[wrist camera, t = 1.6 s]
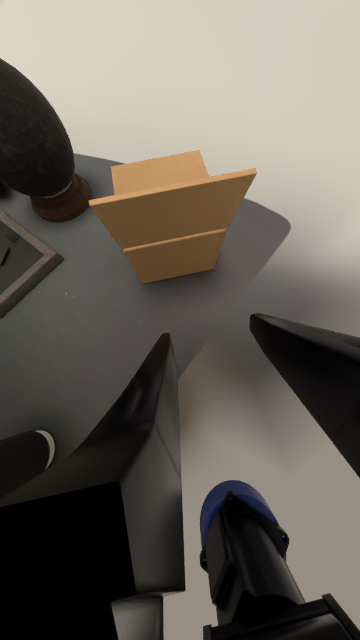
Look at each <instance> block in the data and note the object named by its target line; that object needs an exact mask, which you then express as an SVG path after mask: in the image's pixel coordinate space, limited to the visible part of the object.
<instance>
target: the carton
mask: <svg viewBox="0 0 360 640" xmlns="http://www.w3.org/2000/svg"><path fill="white" fill-rule="evenodd" d="M111 170H112V178H113V186H114V193H115V195H119V194H124V193H130V192H135V191H140V190H145V189H150V188H155V187H161V186H166V185H171V184H176V183H181V182H186V181H191V180H197V179H202V178H207V177H209V175H208V173H207V170H206V167H205V165H204V162H203V160H202V157H201V154H200V151H199V150H197V151H192V152H187V153H181V154H176V155H171V156H166V157H160V158H156V159H150V160H145V161H139V162H134V163H129V164H123V165H118V166H113V167H111ZM225 232H226V231H225V229H220V230H215V231H210V232H205V233H200V234H195V235H190V236H185V237H180V238H176V239H171V240H166V241H161V242H156V243H151V244H146V245H141V246H136V247H131V248H126V249H124V253H125V255H126V256H127V258H128V260H129V262H130V264H131V265H132V267H133V269H134V271H135V273H136V274H137V276H138V278H139V280H140V282H141V283H142V284H144V283H149V282H154V281H158V280H163V279H168V278H173V277H178V276H182V275H187V274H192V273H197V272H202V271H207V270H211V269H214V268H215V264H216V261H217V258H218V255H219V251H220V248H221V245H222V242H223V238H224V235H225Z"/></svg>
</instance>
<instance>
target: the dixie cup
mask: <svg viewBox="0 0 360 640" xmlns="http://www.w3.org/2000/svg"><path fill="white" fill-rule="evenodd" d="M54 451H55V445H54V440H53V438H52V436H51V435H50V434H49V433H48V432H46V431H43V430H37V431H28V432H25V433H21V434H18V435H15V436H12V437H9V438H6V439H3V440H0V499H1V498H3V497H4V496H6V495H7V494H9V493H11V492H12V491H14V490H15V489H17V488H18V487H20V486H22V485H23V484H25V483H26V482H28V481H30V480H31V479H33V478H34V477H36V476H38V475H39V474H41V473H42V472H44V471H45V469H46V468H47V467H48V466H49V464H50V463H51V461H52V459H53V456H54Z"/></svg>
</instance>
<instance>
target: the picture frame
mask: <svg viewBox="0 0 360 640" xmlns="http://www.w3.org/2000/svg"><path fill="white" fill-rule="evenodd" d="M62 260H63V258H62V257H61V256H60V255H59V254H57V253H56V252H55V251H54V250H52V249H51V248H50V247H48V246H47V245H46V244H44V243H43V242H42V241H40V240H39V239H38V238H36V237H35V236H34V235H32V234H31V233H30V232H28V231H27V230H26V229H24V228H23V227H22V226H21V225H19V224H18V223H17V222H15V221H14V220H13V219H11V218H10V217H9V216H7V215H6V214H5V213H3V212H2V211H1V210H0V318H1V317H2V316H3V315H4V314H6V313H7V312H8V311H9V310H10V309H11V308H12V307H13V306H14V305H15V304H16V303H17V302H18V301H19V300H20V299H22V298H23V297H24V296H25V295H26V294H27V293H28V292H29V291H30V290H31V289H32V288H33V287H34V286H35V285H36V284H38V283H39V282H40V281H41V280H42V279H43V278H44V277H45V276H46V275H47V274H48V273H49V272H50V271H51V270H53V269H54V268H55V267H56V266H57V265H58V264H59V263H60V262H61V261H62Z"/></svg>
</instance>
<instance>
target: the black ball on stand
mask: <svg viewBox="0 0 360 640" xmlns="http://www.w3.org/2000/svg"><path fill="white" fill-rule="evenodd" d="M74 167H75V163H74V155H73V150H72V146H71V143H70V139H69V137H68V135H67V133H66V130H65V128H64V126H63V124H62V122H61V120H60V119H59V117H58V115H57V114H56V112H55V110H54V109H53V107H52V106H51V105H50V103H49V102H48V101H47V99H46V98H45V97H44V95H43V94H42V93H41V92H40V91H39V90H38V89H37V88H36V87H35V86H34V85H33V84H32V82H31V81H30V80H28V79H27V78H26V77H25V76H24V75H23V74H21V73H20V72H19V71H18V70H17V69H16V68H15V67H13V66H11V65H9V64H8V63H6V62H5V61H3V60H2V59H0V182H1V183H3V184H4V185H6V186H8V187H10V188H12V189H14V190H16V191H18V192H20V193H22V194H25V195H29V196H30V199H31V202H32V207H33V209H34V210H35V212H36V213H37V214H38V215H39V216H40V217H42V218H43V219H45V220H47V221H52V222H62V221H67V220H70V219H72V218H75V217H76V216H78V215H80V214H81V213H82V212H83V211H85V209H86V208H87V207H88V206H89V200H91V199H92V192H91V189H90V187H89V185H88V183H87V182H86V181H85V180H84V179H83V178H81V177H79V176H78V175H77V174H75V173H74Z"/></svg>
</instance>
